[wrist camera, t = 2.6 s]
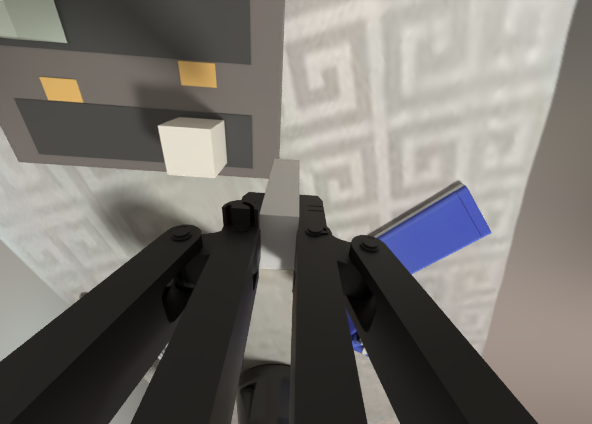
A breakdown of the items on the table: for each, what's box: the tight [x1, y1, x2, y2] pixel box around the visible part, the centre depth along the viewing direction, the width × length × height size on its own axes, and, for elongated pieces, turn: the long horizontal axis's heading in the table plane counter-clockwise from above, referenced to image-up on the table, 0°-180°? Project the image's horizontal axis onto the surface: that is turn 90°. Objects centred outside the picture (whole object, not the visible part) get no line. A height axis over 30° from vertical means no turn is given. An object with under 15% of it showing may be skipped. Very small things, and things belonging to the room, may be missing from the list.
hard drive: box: [373, 184, 491, 274], centre depth 31 cm, size 2×8×12 cm
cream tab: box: [158, 117, 227, 178], centre depth 22 cm, size 4×4×4 cm
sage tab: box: [0, 0, 67, 43], centre depth 17 cm, size 4×4×4 cm
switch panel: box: [0, 0, 285, 179], centre depth 22 cm, size 16×26×2 cm, turn 86°
